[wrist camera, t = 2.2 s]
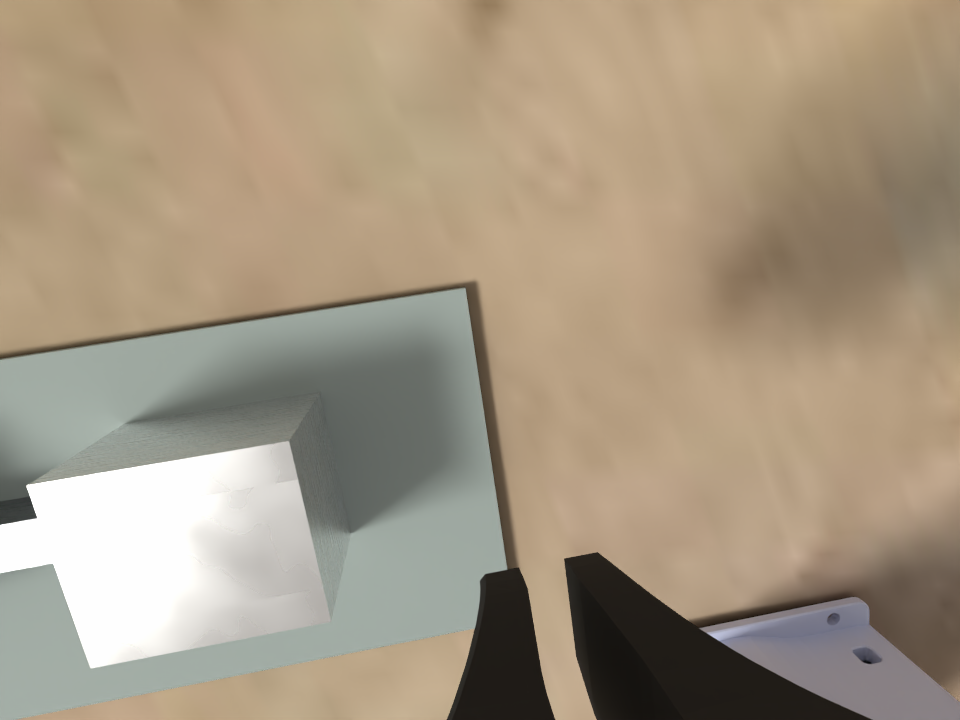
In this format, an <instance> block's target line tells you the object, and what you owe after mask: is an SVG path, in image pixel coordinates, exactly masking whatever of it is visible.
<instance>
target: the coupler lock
mask: <svg viewBox="0 0 960 720" xmlns="http://www.w3.org/2000/svg"><path fill="white" fill-rule="evenodd" d="M27 488H28V491H29V494H30V497H31V500H32V503H33V505H34V508H35V511H36V514H37V517H38V520H39V523H40V525H41V528H42V531H43V534H44V537H45V540H46V543H47V545H48V548H49V551H50V554H51V557H52V560H53V563H54V565H55V568H56V571H57V574H58V577H59V580H60V583H61V586H62V588H63V591H64V594H65V597H66V600H67V603H68V606H69V608H70V611H71V614H72V617H73V620H74V623H75V626H76V628H77V631H78V634H79V637H80V640H81V643H82V646H83V648H84V651H85V654H86V657H87V660H88V663H89V666H90V668H96V667H101V666H107V665H112V664H117V663H122V662H127V661H132V660H137V659H143V658H148V657H153V656H158V655H163V654H168V653H174V652H179V651H184V650H189V649H194V648H199V647H205V646H210V645H215V644H220V643H225V642H230V641H235V640H241V639H246V638H251V637H256V636H261V635H266V634H272V633H277V632H282V631H287V630H292V629H297V628H302V627H308V626H313V625H318V624H323V623H328V622H331V621H332V616H333V612H334V607H335V603H336V598H337V594H338V590H339V585H340V581H341V576H342V572H343V567H344V563H345V559H346V554H347V550H348V545H349V541H350V536H351V531H350V526H349V521H348V517H347V512H346V507H345V503H344V498H343V493H342V489H341V484H340V479H339V475H338V470H337V465H336V461H335V456H334V451H333V447H332V442H331V437H330V433H329V428H328V423H327V419H326V414H325V409H324V405H323V400H322V396H321V391H319V392H313V393H307V394H301V395H295V396H289V397H282V398H276V399H270V400H264V401H258V402H252V403H246V404H240V405H234V406H228V407H222V408H216V409H210V410H204V411H198V412H191V413H185V414H179V415H173V416H167V417H161V418H155V419H149V420H143V421H137V422H131V423H125V424H123V425H121V426H120V427H118V428H117V429H115V430H113V431H112V432H110V433H109V434H107V435H106V436H104V437H102V438H101V439H99V440H98V441H96V442H95V443H93V444H91V445H90V446H88V447H87V448H85V449H84V450H82V451H80V452H79V453H77V454H76V455H74V456H73V457H71V458H69V459H68V460H66V461H65V462H63V463H62V464H60V465H58V466H57V467H55V468H54V469H52V470H51V471H49V472H47V473H46V474H44V475H43V476H41V477H39V478H38V479H36V480H35V481H33V482H32V483H30V484H28V485H27Z"/></svg>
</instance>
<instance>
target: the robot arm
mask: <svg viewBox="0 0 960 720" xmlns="http://www.w3.org/2000/svg"><path fill="white" fill-rule="evenodd" d="M564 560H565V569H566V577H567V585H568V593H569V601H570V609H571V617H572V626H573V634H574V642H575V650H576V657H577V660H578V664H579V667H580V670H581V673H582V677H583V680H584V683H585V686H586V689H587V692H588V696H589V699H590V702H591V705H592V708H593V711H594V714H595V716H596V719H597V720H960V702H959V701H958V700H956V699H955V698H954V697H953V696H952V695H951V694H949V693H948V692H947V691H946V690H945V689H944V688H942V687H941V686H940V685H939V684H938V683H937V682H935V681H934V680H933V679H932V678H931V677H930V676H928V675H927V674H926V673H925V672H924V671H923V670H921V669H920V668H919V667H918V666H917V665H916V664H914V663H913V662H912V661H911V660H910V659H909V658H908V657H906V656H905V655H904V654H903V653H902V652H901V651H899V650H898V649H897V648H896V647H895V646H894V645H892V644H891V643H890V642H889V641H888V640H887V639H885V638H884V637H883V636H882V635H881V634H880V633H878V632H877V631H876V630H875V629H874V628H873V627H871V626H870V625H869V614H870V611H869V606H868V605H867V604H866V603H865V602H864V601H862V600H861V599H860V598H857V597H850V598H845V599H840V600H835V601H830V602H825V603H820V604H815V605H810V606H805V607H801V608H796V609H791V610H786V611H781V612H776V613H771V614H766V615H761V616H757V617H752V618H747V619H742V620H737V621H732V622H727V623H722V624H717V625H712V626H708V627H703V628H698V627H696V626H695V625H693V624H692V623H690V622H689V621H688V620H686V619H685V618H683V617H682V616H681V615H679V614H678V613H676V612H675V611H674V610H672V609H671V608H669V607H668V606H667V605H665V604H664V603H662V602H661V601H660V600H658V599H657V598H656V597H654V596H653V595H652V594H650V593H649V592H648V591H646V590H645V589H644V588H642V587H641V586H640V585H639V584H637V583H636V582H635V581H633V580H632V579H631V578H630V577H628V576H627V575H626V574H625V573H623V572H622V571H621V570H619V569H618V568H617V567H616V566H614V565H613V564H612V563H611V562H609V561H608V560H607V559H606V558H604V557H603V556H602V555H600V554H599V553H598V552H597V553H592V554H586V555H581V556H576V557H571V558H566V559H564ZM831 614H832V615H831ZM830 615H831V616H830ZM829 616H830V617H829ZM828 617H829V618H828ZM447 720H555V718H554V715H553V712H552V709H551V706H550V703H549V699H548V696H547V693H546V689H545V685H544V680H543V676H542V672H541V666H540V660H539V654H538V648H537V642H536V636H535V630H534V624H533V618H532V612H531V606H530V600H529V594H528V588H527V586H526V583H525V581H524V578H523V576H522V574H521V572H520V569H519V568H513V569H508V570H503V571H498V572H493V573H487V574H485V575H484V576H483V577H482V579H481V580H480V602H479V609H478V615H477V621H476V626H475V630H474V635H473V639H472V643H471V647H470V651H469V655H468V659H467V662H466V666H465V669H464V672H463V675H462V678H461V681H460V684H459V687H458V690H457V693H456V696H455V699H454V702H453V705H452V708H451V711H450V713H449V716H448V718H447Z"/></svg>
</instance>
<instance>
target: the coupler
mask: <svg viewBox="0 0 960 720" xmlns="http://www.w3.org/2000/svg"><path fill="white" fill-rule="evenodd" d="M52 563H53V560H52V557H51V554H50V551H49V548H48V545H47V543H46V540H45V537H44V534H43V531H42V528H41V525H40V523H39V520H38V517H37V514H36V511H35V508H34V505H33V503H32V500H31V497H30V496H29V497H23V498H17V499H11V500H6V501H0V573H2V572H7V571H13V570H19V569H24V568H30V567H35V566H41V565H46V564H52Z"/></svg>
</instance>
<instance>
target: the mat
mask: <svg viewBox="0 0 960 720" xmlns="http://www.w3.org/2000/svg"><path fill="white" fill-rule="evenodd" d="M319 391H321V396H322V400H323V405H324V409H325V414H326V419H327V423H328V428H329V433H330V437H331V442H332V447H333V451H334V456H335V461H336V465H337V470H338V475H339V479H340V484H341V489H342V493H343V498H344V503H345V507H346V512H347V517H348V521H349V526H350V531H351V536H350V541H349V545H348V550H347V554H346V559H345V563H344V567H343V572H342V576H341V581H340V585H339V590H338V594H337V598H336V603H335V607H334V612H333V616H332V621H331V622H328V623H323V624H318V625H313V626H308V627H302V628H297V629H292V630H287V631H282V632H277V633H272V634H266V635H261V636H256V637H251V638H246V639H241V640H235V641H230V642H225V643H220V644H215V645H210V646H205V647H199V648H194V649H189V650H184V651H179V652H174V653H168V654H163V655H158V656H153V657H148V658H143V659H137V660H132V661H127V662H122V663H117V664H112V665H107V666H101V667H96V668H90V666H89V663H88V660H87V657H86V654H85V651H84V648H83V646H82V643H81V640H80V637H79V634H78V631H77V628H76V626H75V623H74V620H73V617H72V614H71V611H70V608H69V606H68V603H67V600H66V597H65V594H64V591H63V588H62V586H61V583H60V580H59V577H58V574H57V571H56V568H55V565H54V563H52V564H46V565H41V566H35V567H30V568H24V569H19V570H13V571H7V572H2V573H0V720H16V719H21V718H26V717H31V716H36V715H41V714H46V713H51V712H56V711H61V710H66V709H71V708H76V707H81V706H86V705H91V704H96V703H101V702H107V701H112V700H117V699H122V698H127V697H132V696H137V695H142V694H147V693H152V692H157V691H162V690H167V689H172V688H177V687H182V686H187V685H192V684H197V683H202V682H207V681H212V680H217V679H222V678H228V677H233V676H238V675H243V674H248V673H253V672H258V671H263V670H268V669H273V668H278V667H283V666H288V665H293V664H298V663H303V662H308V661H313V660H318V659H323V658H328V657H333V656H338V655H343V654H348V653H354V652H359V651H364V650H369V649H374V648H379V647H384V646H389V645H394V644H399V643H404V642H409V641H414V640H419V639H424V638H429V637H434V636H439V635H444V634H449V633H454V632H459V631H464V630H469V629H474V628H475V626H476V621H477V615H478V609H479V602H480V580H481V579H482V577H483V576H484V575H485V574H487V573H493V572H498V571H503V570H507V564H506V557H505V551H504V544H503V537H502V530H501V524H500V517H499V510H498V504H497V497H496V490H495V483H494V477H493V470H492V463H491V457H490V450H489V443H488V436H487V430H486V423H485V416H484V409H483V403H482V396H481V389H480V383H479V376H478V369H477V362H476V356H475V349H474V342H473V335H472V329H471V322H470V315H469V309H468V302H467V295H466V288H465V287H462V288H455V289H449V290H442V291H436V292H429V293H423V294H417V295H410V296H404V297H397V298H391V299H384V300H378V301H371V302H365V303H358V304H352V305H345V306H339V307H332V308H326V309H319V310H313V311H306V312H300V313H294V314H287V315H281V316H274V317H268V318H261V319H255V320H248V321H242V322H235V323H229V324H222V325H216V326H209V327H203V328H196V329H190V330H183V331H177V332H170V333H164V334H158V335H151V336H145V337H138V338H132V339H125V340H119V341H112V342H106V343H99V344H93V345H86V346H80V347H73V348H67V349H60V350H54V351H47V352H41V353H35V354H28V355H22V356H15V357H9V358H2V359H0V501H6V500H11V499H17V498H23V497H29V496H30V494H29V491H28V488H27V485H28V484H30V483H32V482H33V481H35V480H36V479H38V478H39V477H41V476H43V475H44V474H46V473H47V472H49V471H51V470H52V469H54V468H55V467H57V466H58V465H60V464H62V463H63V462H65V461H66V460H68V459H69V458H71V457H73V456H74V455H76V454H77V453H79V452H80V451H82V450H84V449H85V448H87V447H88V446H90V445H91V444H93V443H95V442H96V441H98V440H99V439H101V438H102V437H104V436H106V435H107V434H109V433H110V432H112V431H113V430H115V429H117V428H118V427H120V426H121V425H123V424H125V423H131V422H137V421H143V420H149V419H155V418H161V417H167V416H173V415H179V414H185V413H191V412H198V411H204V410H210V409H216V408H222V407H228V406H234V405H240V404H246V403H252V402H258V401H264V400H270V399H276V398H282V397H289V396H295V395H301V394H307V393H313V392H319Z"/></svg>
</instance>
